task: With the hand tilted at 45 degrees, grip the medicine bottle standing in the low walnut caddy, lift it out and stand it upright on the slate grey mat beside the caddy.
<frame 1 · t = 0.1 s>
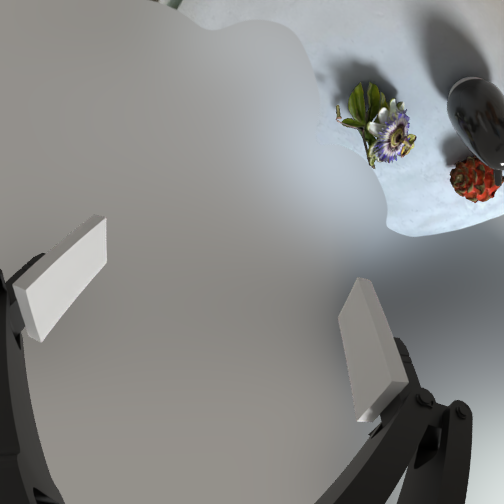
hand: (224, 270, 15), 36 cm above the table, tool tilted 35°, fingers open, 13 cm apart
passion flower: (375, 111, 41), on the table
dragon fruit: (473, 163, 42), on the table
grey egg-shaped container: (469, 94, 31), on the table
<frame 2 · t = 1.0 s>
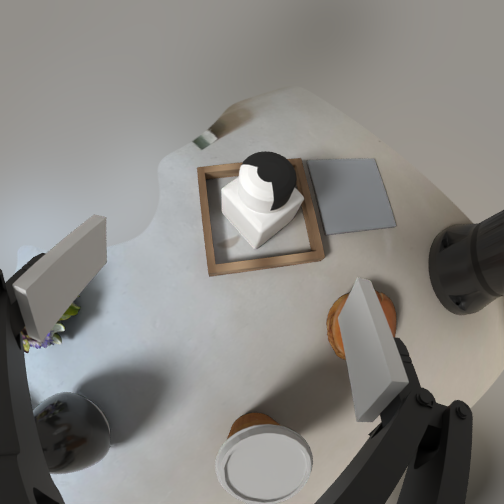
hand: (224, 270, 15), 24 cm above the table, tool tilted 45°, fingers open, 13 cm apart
passion flower: (48, 312, 36), on the table
walnut caddy: (257, 215, 42), on the table
slate mat: (352, 193, 44), on the table
disposable coffee cup: (254, 433, 34), on the table
burger: (355, 325, 39), on the table
medicine bottle: (257, 216, 42), resting in walnut caddy
grey egg-shaped container: (86, 422, 32), on the table
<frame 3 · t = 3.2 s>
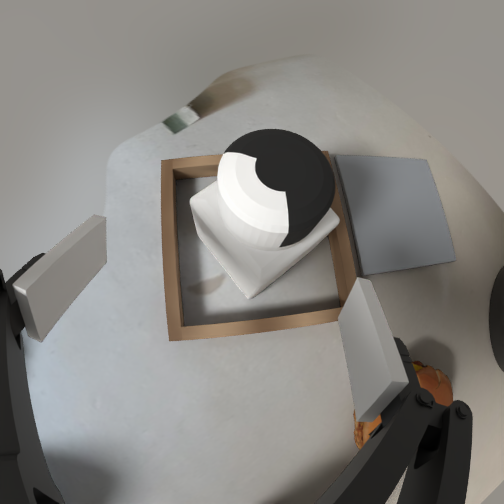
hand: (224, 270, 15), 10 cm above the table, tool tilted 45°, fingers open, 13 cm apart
walnut caddy: (255, 241, 26), on the table
slate mat: (399, 210, 28), on the table
burger: (392, 410, 23), on the table
medicine bottle: (255, 242, 26), resting in walnut caddy
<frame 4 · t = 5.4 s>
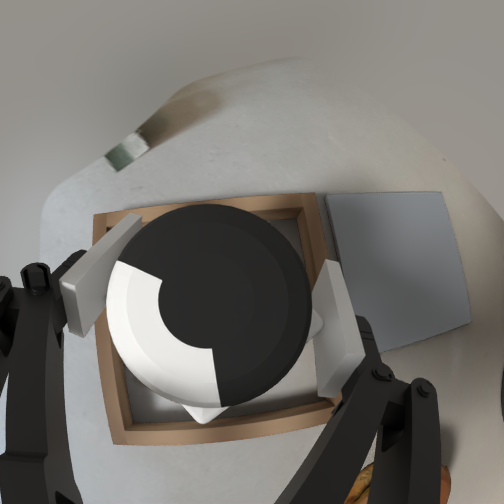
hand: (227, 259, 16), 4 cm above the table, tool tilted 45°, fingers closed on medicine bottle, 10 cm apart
walnut caddy: (215, 321, 19), on the table
slate mat: (407, 264, 22), on the table
burger: (380, 498, 16), on the table
medicine bottle: (215, 321, 19), resting in walnut caddy, touching gripper
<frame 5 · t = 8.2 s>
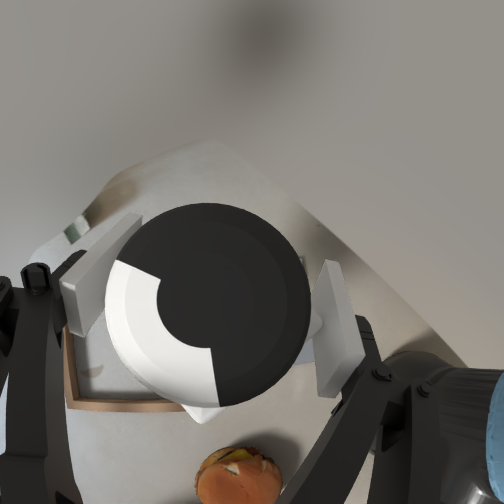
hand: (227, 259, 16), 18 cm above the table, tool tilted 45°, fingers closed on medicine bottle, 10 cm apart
walnut caddy: (123, 343, 30), on the table
slate mat: (255, 316, 33), on the table
burger: (236, 476, 28), on the table
medicine bottle: (215, 321, 19), point 13 cm above the table, touching gripper
when the fingers open (6 cm above the table, at t = 11.3 s): medicine bottle drops 1 cm, resting on slate mat.
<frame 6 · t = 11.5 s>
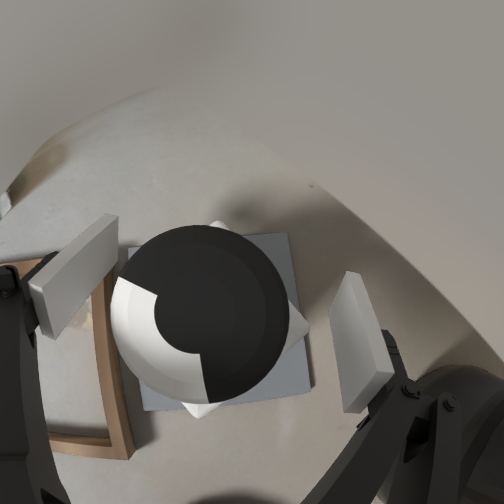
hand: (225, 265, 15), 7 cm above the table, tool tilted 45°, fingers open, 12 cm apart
walnut caddy: (39, 357, 19), on the table
slate mat: (215, 322, 21), on the table
medicine bottle: (214, 322, 21), resting on slate mat
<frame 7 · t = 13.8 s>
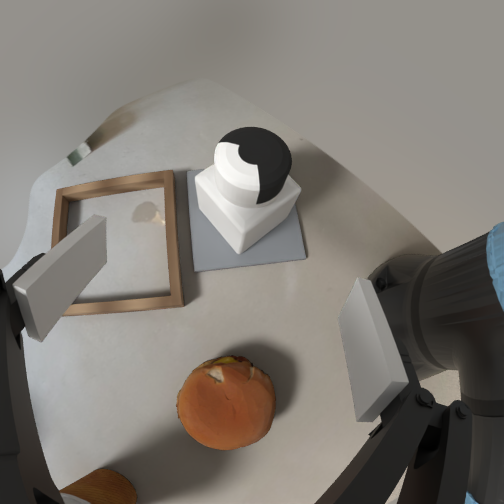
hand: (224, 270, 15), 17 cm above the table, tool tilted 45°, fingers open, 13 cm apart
walnut caddy: (113, 245, 32), on the table
slate mat: (243, 213, 34), on the table
disposable coffee cup: (112, 489, 24), on the table
burger: (224, 399, 29), on the table
medicine bottle: (242, 213, 34), resting on slate mat
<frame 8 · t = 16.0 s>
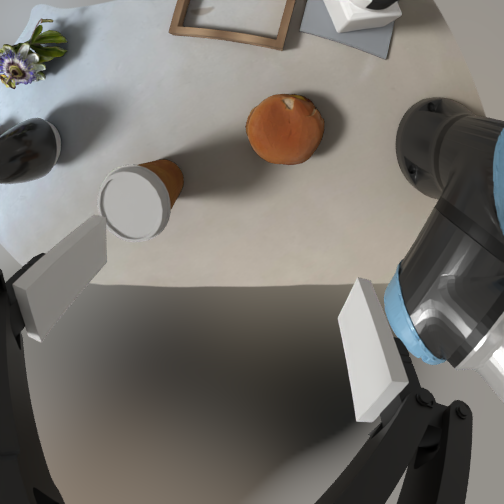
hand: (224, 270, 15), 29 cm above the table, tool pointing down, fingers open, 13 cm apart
passion flower: (43, 55, 33), on the table
slate mat: (352, 8, 28), on the table
disposable coffee cup: (164, 179, 43), on the table
burger: (284, 126, 38), on the table
medicine bottle: (351, 8, 28), resting on slate mat
grey egg-shaped container: (49, 143, 40), on the table
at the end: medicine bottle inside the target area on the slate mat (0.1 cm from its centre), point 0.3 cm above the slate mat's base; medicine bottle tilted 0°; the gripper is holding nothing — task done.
